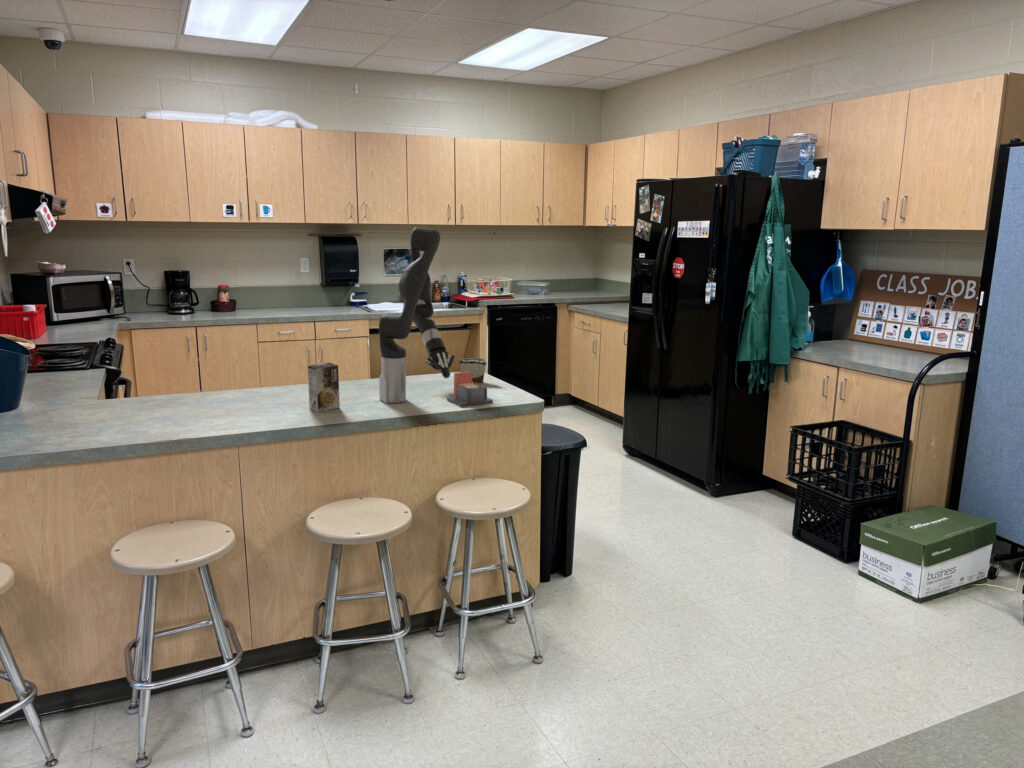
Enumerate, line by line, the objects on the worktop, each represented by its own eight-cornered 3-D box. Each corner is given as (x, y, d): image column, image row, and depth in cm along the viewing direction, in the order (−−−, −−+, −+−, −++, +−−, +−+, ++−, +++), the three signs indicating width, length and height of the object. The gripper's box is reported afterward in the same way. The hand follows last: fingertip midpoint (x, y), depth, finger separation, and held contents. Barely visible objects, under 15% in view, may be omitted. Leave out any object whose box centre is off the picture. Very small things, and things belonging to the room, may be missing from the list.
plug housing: (461, 407, 265) (461, 390, 264) (447, 400, 274) (447, 384, 273) (492, 403, 273) (493, 386, 272) (477, 396, 282) (478, 380, 280)
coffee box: (330, 404, 263) (329, 362, 259) (340, 408, 259) (339, 365, 255) (308, 408, 257) (307, 365, 253) (317, 412, 252) (316, 368, 249)
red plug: (465, 400, 269) (465, 377, 267) (453, 395, 276) (454, 372, 274) (481, 398, 273) (481, 375, 271) (469, 393, 280) (469, 371, 278)
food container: (488, 380, 310) (488, 358, 307) (486, 383, 304) (486, 361, 301) (460, 379, 311) (460, 356, 308) (458, 382, 305) (458, 359, 303)
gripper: (422, 338, 287) (436, 373, 280) (450, 335, 294) (465, 370, 287) (416, 348, 293) (429, 383, 286) (444, 346, 300) (458, 380, 293)
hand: (447, 377), depth 286 cm, fingers closed
